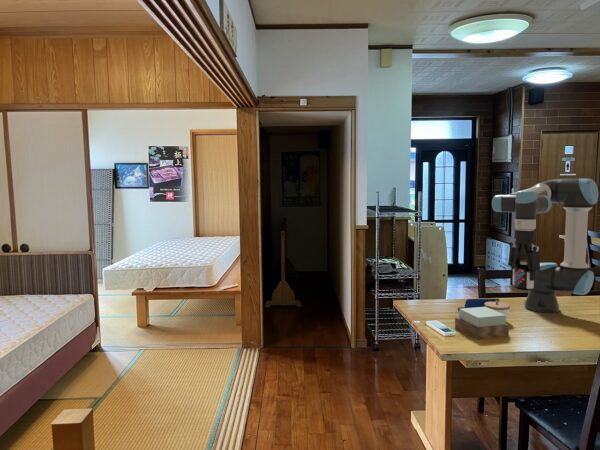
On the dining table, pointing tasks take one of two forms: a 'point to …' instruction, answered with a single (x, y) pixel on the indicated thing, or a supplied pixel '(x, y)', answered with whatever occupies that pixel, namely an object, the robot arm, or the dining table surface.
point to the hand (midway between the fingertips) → (522, 286)
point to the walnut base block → (481, 329)
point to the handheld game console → (476, 303)
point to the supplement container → (520, 275)
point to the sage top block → (482, 316)
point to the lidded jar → (498, 307)
